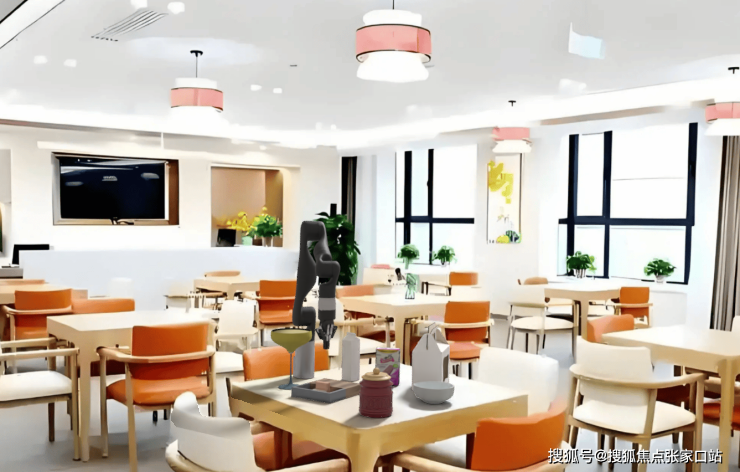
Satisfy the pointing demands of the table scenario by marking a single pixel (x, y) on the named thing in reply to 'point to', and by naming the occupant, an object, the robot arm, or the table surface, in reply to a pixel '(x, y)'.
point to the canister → (376, 395)
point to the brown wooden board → (340, 386)
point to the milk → (350, 357)
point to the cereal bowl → (433, 391)
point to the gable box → (431, 357)
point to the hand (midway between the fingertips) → (326, 349)
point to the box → (317, 394)
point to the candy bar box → (389, 362)
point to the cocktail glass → (290, 344)
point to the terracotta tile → (323, 386)
